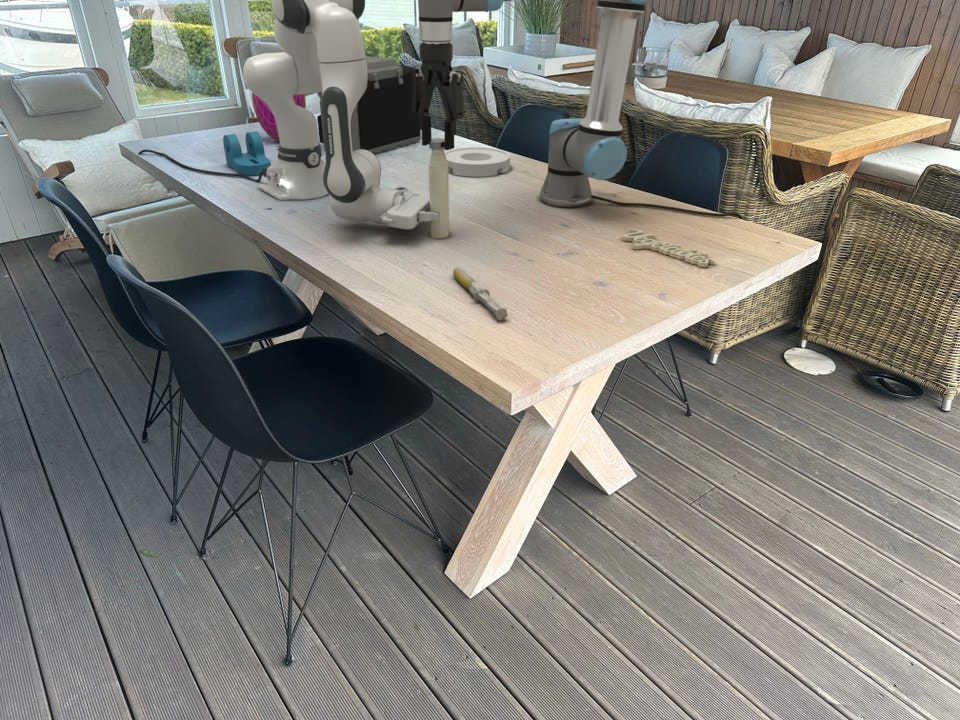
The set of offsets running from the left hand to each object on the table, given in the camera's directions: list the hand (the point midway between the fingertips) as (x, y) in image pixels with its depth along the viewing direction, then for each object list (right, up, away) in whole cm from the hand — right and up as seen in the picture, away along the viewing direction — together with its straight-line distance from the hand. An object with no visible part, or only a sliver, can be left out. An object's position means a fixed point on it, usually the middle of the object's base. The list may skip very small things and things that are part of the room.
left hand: (442, 212), depth 174 cm
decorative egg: (-66, +47, +91) cm, 122 cm away
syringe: (+9, -24, -29) cm, 39 cm away
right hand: (-1, +14, -8) cm, 16 cm away
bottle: (-1, -5, +3) cm, 6 cm away
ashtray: (+8, +28, +60) cm, 66 cm away
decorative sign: (+55, -10, -5) cm, 56 cm away
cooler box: (-31, +43, +84) cm, 100 cm away
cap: (-1, +15, -9) cm, 18 cm away
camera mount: (-67, +27, +56) cm, 91 cm away
